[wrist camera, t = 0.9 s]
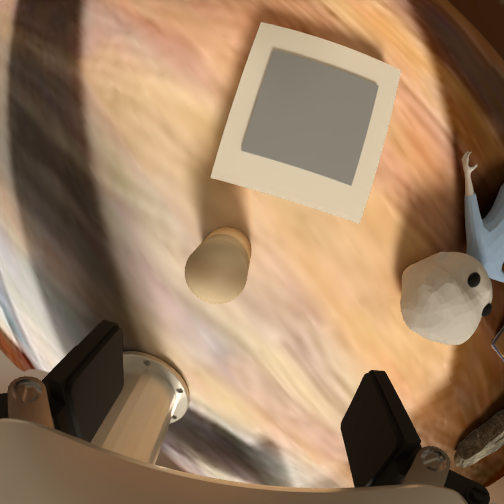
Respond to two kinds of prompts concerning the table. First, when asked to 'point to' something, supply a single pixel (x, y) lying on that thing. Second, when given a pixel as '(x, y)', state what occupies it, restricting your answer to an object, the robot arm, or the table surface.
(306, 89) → the plinth
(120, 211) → the table surface
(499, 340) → the book
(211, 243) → the cylinder
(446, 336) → the toy
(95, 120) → the table surface
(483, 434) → the stone
